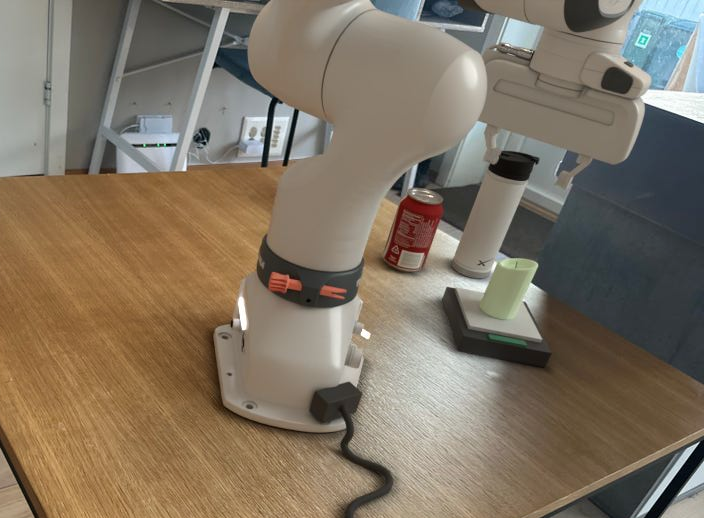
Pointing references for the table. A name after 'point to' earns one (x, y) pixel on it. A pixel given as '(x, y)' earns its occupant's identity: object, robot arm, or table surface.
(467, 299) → the scale
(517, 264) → the candle
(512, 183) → the travel mug
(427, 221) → the soda can
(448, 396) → the table surface
